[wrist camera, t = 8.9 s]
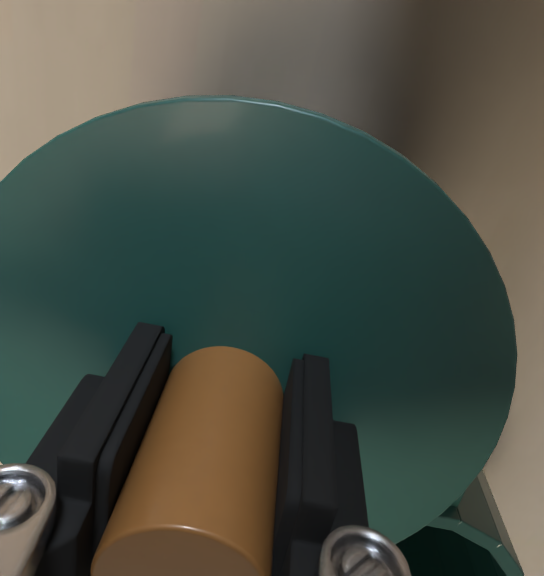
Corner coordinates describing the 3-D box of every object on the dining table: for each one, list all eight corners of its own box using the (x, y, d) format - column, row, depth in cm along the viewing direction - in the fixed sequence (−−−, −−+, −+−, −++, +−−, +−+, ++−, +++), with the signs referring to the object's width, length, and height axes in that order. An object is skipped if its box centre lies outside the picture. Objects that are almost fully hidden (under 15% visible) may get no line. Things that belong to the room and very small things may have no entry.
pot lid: (-9, 499, 15) (-171, 733, 10) (-49, 30, 9) (-455, 19, 4) (406, 575, 15) (455, 840, 10) (600, 162, 10) (911, 292, 5)
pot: (260, 524, 36) (244, 676, 27) (312, 319, 28) (312, 441, 20) (419, 553, 36) (453, 714, 27) (512, 358, 28) (599, 495, 20)
